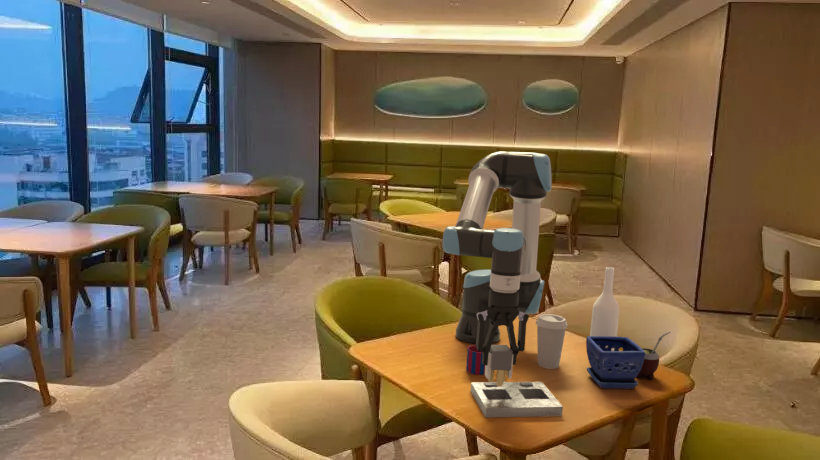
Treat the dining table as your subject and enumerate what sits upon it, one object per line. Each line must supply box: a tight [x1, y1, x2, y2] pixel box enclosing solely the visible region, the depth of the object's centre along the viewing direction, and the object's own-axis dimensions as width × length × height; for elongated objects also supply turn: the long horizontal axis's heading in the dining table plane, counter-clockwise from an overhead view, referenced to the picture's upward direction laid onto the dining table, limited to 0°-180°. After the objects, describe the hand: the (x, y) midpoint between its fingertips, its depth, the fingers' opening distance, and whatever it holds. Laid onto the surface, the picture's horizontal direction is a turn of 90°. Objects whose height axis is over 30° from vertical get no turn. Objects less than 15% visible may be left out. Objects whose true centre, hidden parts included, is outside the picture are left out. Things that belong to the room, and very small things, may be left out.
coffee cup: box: [535, 313, 569, 370], centre depth 196 cm, size 10×10×15 cm
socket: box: [470, 381, 564, 418], centre depth 168 cm, size 16×20×3 cm
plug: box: [487, 344, 512, 387], centre depth 166 cm, size 5×5×10 cm
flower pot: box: [585, 335, 645, 390], centre depth 185 cm, size 13×13×12 cm
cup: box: [465, 344, 485, 376], centre depth 189 cm, size 7×10×7 cm
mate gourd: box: [635, 331, 671, 381], centre depth 190 cm, size 8×8×15 cm
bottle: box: [589, 266, 620, 351], centre depth 202 cm, size 8×8×30 cm
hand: (498, 376), depth 166 cm, fingers closed on plug, 5 cm apart
